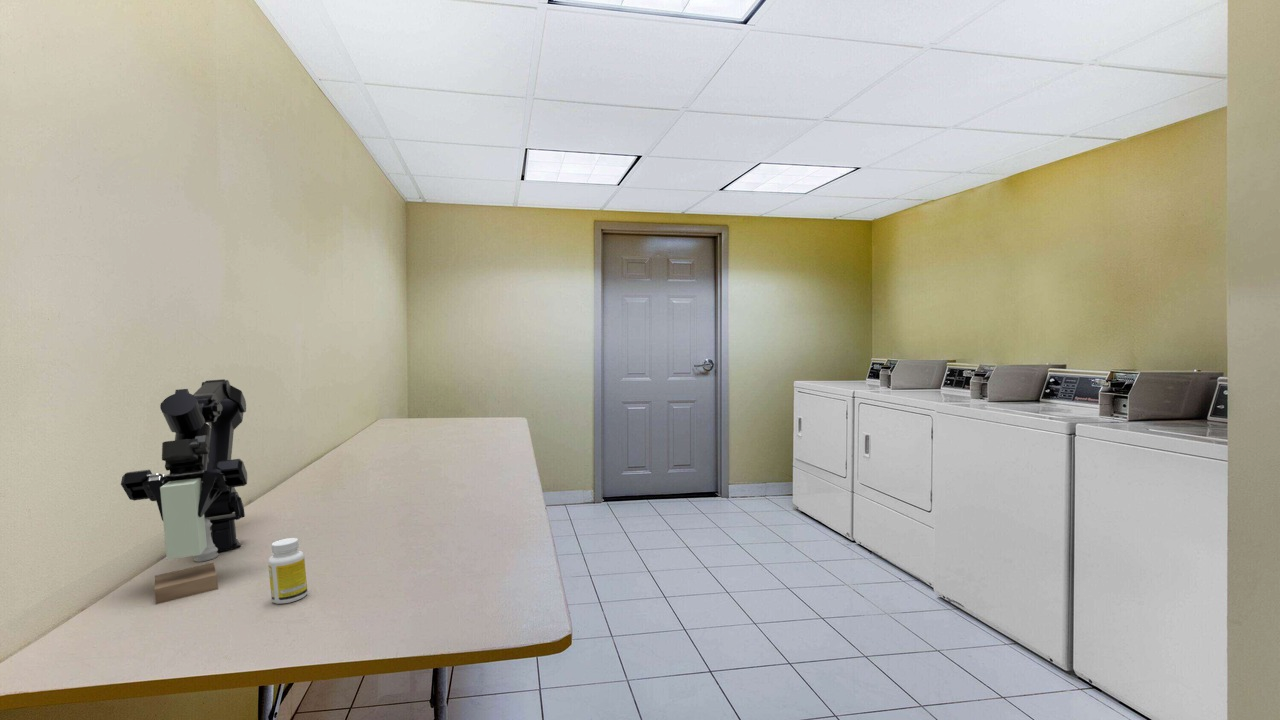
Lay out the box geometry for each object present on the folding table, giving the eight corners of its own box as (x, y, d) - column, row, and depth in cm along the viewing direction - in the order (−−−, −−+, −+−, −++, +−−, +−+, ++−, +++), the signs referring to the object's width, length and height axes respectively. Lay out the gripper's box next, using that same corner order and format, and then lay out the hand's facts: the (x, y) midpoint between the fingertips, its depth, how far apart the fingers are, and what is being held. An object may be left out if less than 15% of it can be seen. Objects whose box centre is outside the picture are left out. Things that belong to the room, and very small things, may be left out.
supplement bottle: (315, 592, 112) (309, 537, 111) (288, 606, 107) (283, 547, 106) (291, 590, 114) (285, 535, 113) (264, 603, 109) (258, 546, 108)
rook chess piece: (205, 562, 132) (201, 524, 132) (188, 562, 133) (184, 524, 133) (224, 554, 137) (220, 517, 136) (206, 554, 138) (203, 517, 137)
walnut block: (156, 591, 119) (154, 575, 119) (214, 577, 124) (213, 562, 124) (156, 606, 112) (154, 589, 111) (218, 591, 117) (216, 574, 117)
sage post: (175, 551, 119) (168, 481, 118) (207, 546, 121) (200, 477, 120) (166, 559, 114) (160, 487, 114) (200, 554, 116) (193, 483, 115)
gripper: (118, 428, 116) (101, 503, 107) (238, 416, 123) (232, 485, 114) (137, 464, 124) (123, 536, 115) (249, 451, 131) (245, 518, 122)
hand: (182, 518), depth 116 cm, fingers closed on sage post, 5 cm apart
